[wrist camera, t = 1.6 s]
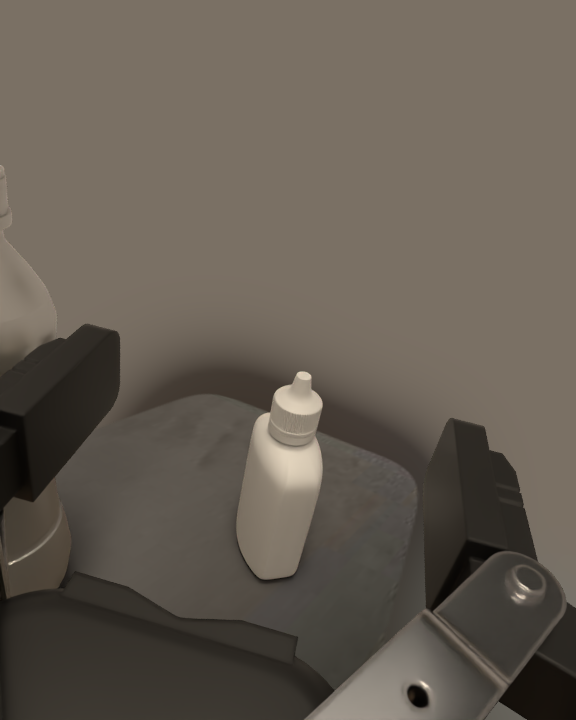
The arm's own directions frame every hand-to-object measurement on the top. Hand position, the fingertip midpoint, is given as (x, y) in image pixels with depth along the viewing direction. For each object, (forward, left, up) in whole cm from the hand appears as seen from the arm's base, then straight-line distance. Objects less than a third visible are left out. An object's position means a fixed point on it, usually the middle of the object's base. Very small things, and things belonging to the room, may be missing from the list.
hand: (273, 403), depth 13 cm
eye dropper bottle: (0, +11, -18) cm, 21 cm away
